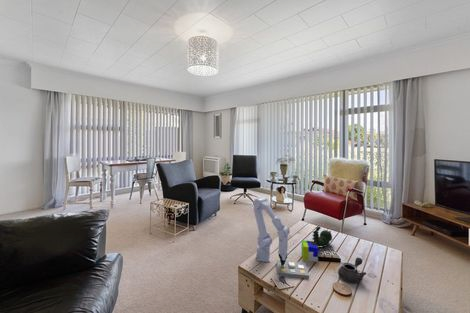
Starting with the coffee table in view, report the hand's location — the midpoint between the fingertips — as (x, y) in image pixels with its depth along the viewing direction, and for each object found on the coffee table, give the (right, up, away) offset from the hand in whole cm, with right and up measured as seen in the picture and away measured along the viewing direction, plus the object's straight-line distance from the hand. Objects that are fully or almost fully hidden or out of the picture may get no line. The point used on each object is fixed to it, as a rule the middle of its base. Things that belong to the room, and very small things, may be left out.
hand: (282, 264), depth 139 cm
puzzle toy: (+23, -2, +14) cm, 27 cm away
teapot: (+43, -4, -8) cm, 44 cm away
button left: (0, -2, 0) cm, 2 cm away
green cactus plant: (+41, -1, +33) cm, 52 cm away
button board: (+6, -2, -2) cm, 7 cm away
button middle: (+6, -1, -1) cm, 6 cm away
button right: (+12, -2, -2) cm, 12 cm away
